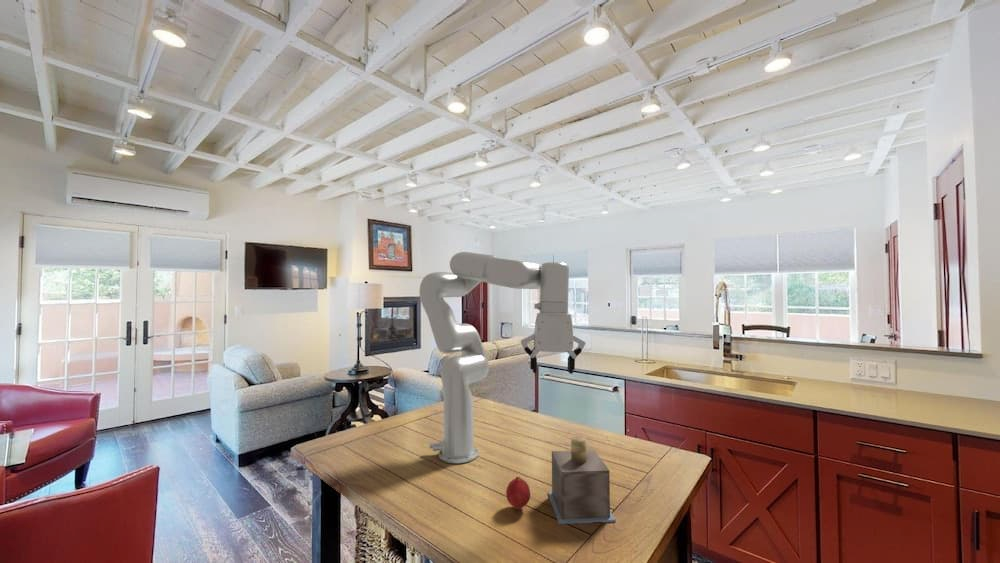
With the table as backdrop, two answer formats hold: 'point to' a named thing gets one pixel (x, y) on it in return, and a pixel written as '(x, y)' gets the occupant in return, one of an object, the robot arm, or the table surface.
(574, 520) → the mat
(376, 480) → the table surface
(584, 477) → the cover
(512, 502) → the onion
